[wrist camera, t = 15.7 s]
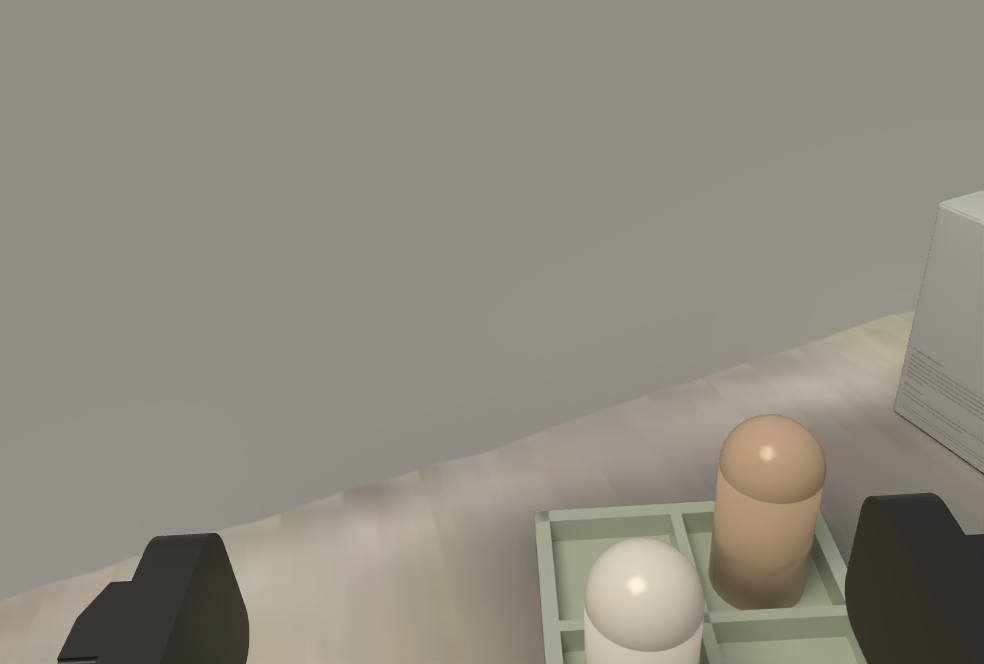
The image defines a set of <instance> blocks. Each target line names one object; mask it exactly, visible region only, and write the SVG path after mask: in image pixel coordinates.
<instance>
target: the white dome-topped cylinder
mask: <svg viewBox="0 0 984 664" xmlns="http://www.w3.org/2000/svg"><path fill="white" fill-rule="evenodd" d="M704 609H705V595H704V590H703V585H702V582H701V579H700V577H699V574H698V572H697V570H696V569H695V567H694V566H693V564H692V563H691V562H690V560H689V559H688V558H687V557H686V556H685V555H684V554H683V553H682V552H681V551H679V550H678V549H677V548H675V547H674V546H672V545H671V544H669V543H666V542H664V541H662V540H659V539H655V538H650V537H633V538H628V539H624V540H621V541H619V542H616V543H614V544H613V545H611V546H610V547H608V548H607V549H605V550H604V551H603V552H602V553H601V554H600V555H599V556H598V557H597V559H596V560H595V561H594V563H593V564H592V566H591V568H590V570H589V572H588V575H587V579H586V582H585V588H584V636H585V664H699V659H700V650H701V640H702V630H703V620H704Z"/></svg>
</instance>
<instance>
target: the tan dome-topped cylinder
mask: <svg viewBox="0 0 984 664" xmlns="http://www.w3.org/2000/svg"><path fill="white" fill-rule="evenodd" d="M825 475H826V461H825V456H824V452H823V450H822V447H821V445H820V443H819V442H818V440H817V439H816V437H815V436H814V435H813V433H812V432H811V431H810V430H809V429H807V428H806V427H805V426H804V425H802V424H801V423H799V422H798V421H796V420H794V419H791V418H789V417H786V416H782V415H775V414H766V415H759V416H755V417H752V418H749V419H747V420H745V421H743V422H742V423H740V424H739V425H738V426H736V427H735V428H734V429H733V430H732V431H731V432H730V433H729V435H728V436H727V438H726V440H725V441H724V443H723V446H722V449H721V453H720V458H719V468H718V478H717V488H716V498H715V508H714V518H713V528H712V538H711V548H710V558H709V568H708V576H709V580H710V583H711V585H712V587H713V589H714V590H715V592H716V593H717V594H718V595H719V596H720V597H721V598H722V599H723V600H724V601H725V602H726V603H728V604H729V605H731V606H733V607H735V608H736V609H739V610H741V611H742V610H760V609H778V608H792V607H793V606H795V605H796V604H797V603H798V602H799V600H800V598H801V596H802V594H803V590H804V585H805V580H806V575H807V569H808V564H809V559H810V554H811V548H812V543H813V538H814V533H815V528H816V522H817V517H818V512H819V507H820V502H821V496H822V491H823V486H824V481H825Z"/></svg>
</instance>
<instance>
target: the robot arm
mask: <svg viewBox="0 0 984 664" xmlns="http://www.w3.org/2000/svg"><path fill="white" fill-rule="evenodd" d="M845 602H846V609H847V614H848V618H849V621H850V625H851V628H852V630H853V633H854V635H855V637H856V640H857V642H858V644H859V646H860V649H861V651H862V653H863V655H864V658H865V660H866V662H867V664H984V534H978V535H965V534H964V532H963V531H962V529H961V527H960V526H959V524H958V523H957V521H956V520H955V518H954V517H953V515H952V514H951V512H950V511H949V509H948V507H947V506H946V504H945V503H944V502H943V500H942V499H941V498H940V497H939V496H937V495H936V494H934V493H918V494H901V495H884V496H869V497H867V498H866V499H865V501H864V503H863V505H862V508H861V512H860V517H859V521H858V525H857V530H856V534H855V538H854V543H853V547H852V552H851V556H850V560H849V565H848V569H847V573H846V578H845ZM248 648H249V621H248V615H247V610H246V607H245V604H244V601H243V598H242V595H241V592H240V590H239V587H238V584H237V581H236V578H235V575H234V572H233V569H232V566H231V563H230V560H229V557H228V555H227V552H226V549H225V546H224V543H223V541H222V539H221V537H220V536H219V535H218V534H217V533H205V534H191V535H190V534H189V535H172V536H157V537H155V538H153V539H152V540H151V541H150V542H149V544H148V545H147V547H146V549H145V551H144V553H143V556H142V558H141V560H140V563H139V565H138V567H137V569H136V572H135V574H134V576H133V578H132V581H123V582H110V583H109V584H108V585H107V586H106V588H105V589H104V590H103V591H102V592H101V593H100V594H99V595H98V596H97V597H96V598H95V599H94V600H93V601H92V602H91V604H90V605H89V606H88V607H87V608H86V609H85V610H84V611H83V612H82V613H81V614H80V615H79V616H78V617H77V619H76V621H75V623H74V625H73V627H72V629H71V631H70V633H69V635H68V637H67V640H66V642H65V644H64V646H63V648H62V650H61V652H60V654H59V656H58V658H57V659H58V664H246V661H247V656H248Z"/></svg>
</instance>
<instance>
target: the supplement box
mask: <svg viewBox="0 0 984 664" xmlns="http://www.w3.org/2000/svg"><path fill="white" fill-rule="evenodd" d="M893 409H894V411H896V412H897V413H898V414H900V415H901V416H903V417H904V418H906V419H907V420H908V421H910V422H911V423H913V424H914V425H916V426H917V427H918V428H920V429H921V430H923V431H924V432H926V433H927V434H928V435H930V436H931V437H933V438H934V439H936V440H937V441H938V442H940V443H941V444H943V445H944V446H945V447H947V448H948V449H950V450H951V451H953V452H954V453H955V454H957V455H958V456H960V457H961V458H962V459H964V460H965V461H967V462H968V463H970V464H971V465H972V466H974V467H975V468H977V469H978V470H980V471H981V472H982V473H984V190H983V191H980V192H975V193H971V194H968V195H964V196H961V197H957V198H954V199H951V200H948V201H945V202H942V203H941V204H939V206H938V213H937V218H936V222H935V227H934V232H933V236H932V241H931V245H930V250H929V255H928V259H927V263H926V268H925V272H924V277H923V281H922V286H921V290H920V294H919V299H918V303H917V307H916V312H915V316H914V321H913V325H912V329H911V334H910V338H909V343H908V347H907V351H906V356H905V360H904V365H903V369H902V374H901V378H900V383H899V387H898V391H897V395H896V399H895V403H894V408H893Z"/></svg>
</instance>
